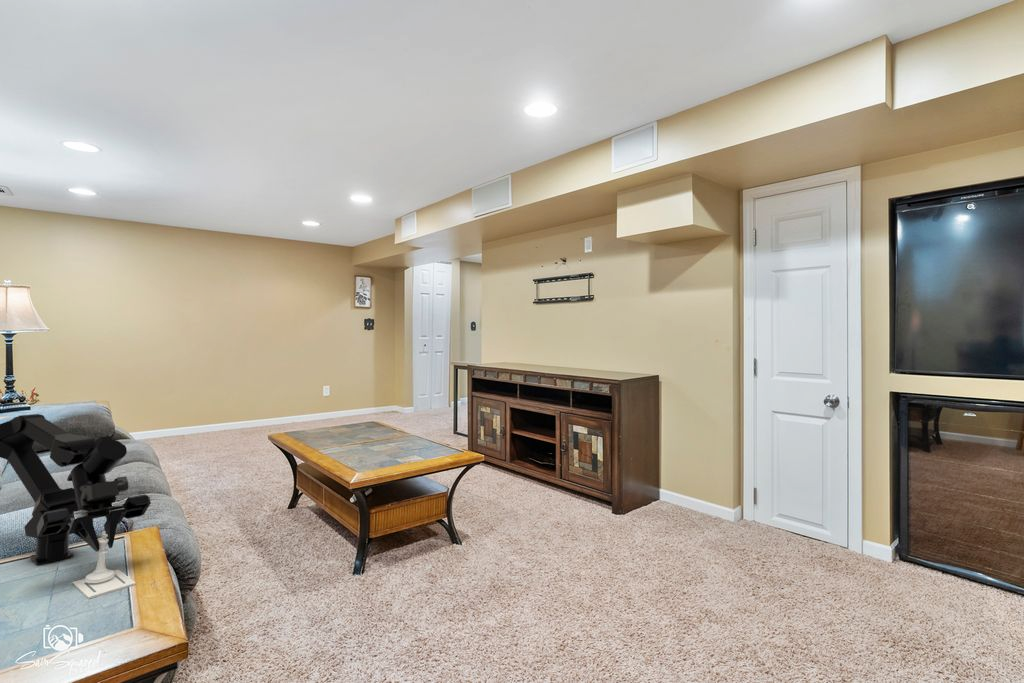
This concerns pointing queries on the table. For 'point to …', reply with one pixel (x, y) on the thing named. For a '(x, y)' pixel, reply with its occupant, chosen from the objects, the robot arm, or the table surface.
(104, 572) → the chess piece
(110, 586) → the slotted cream plate
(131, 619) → the table surface
